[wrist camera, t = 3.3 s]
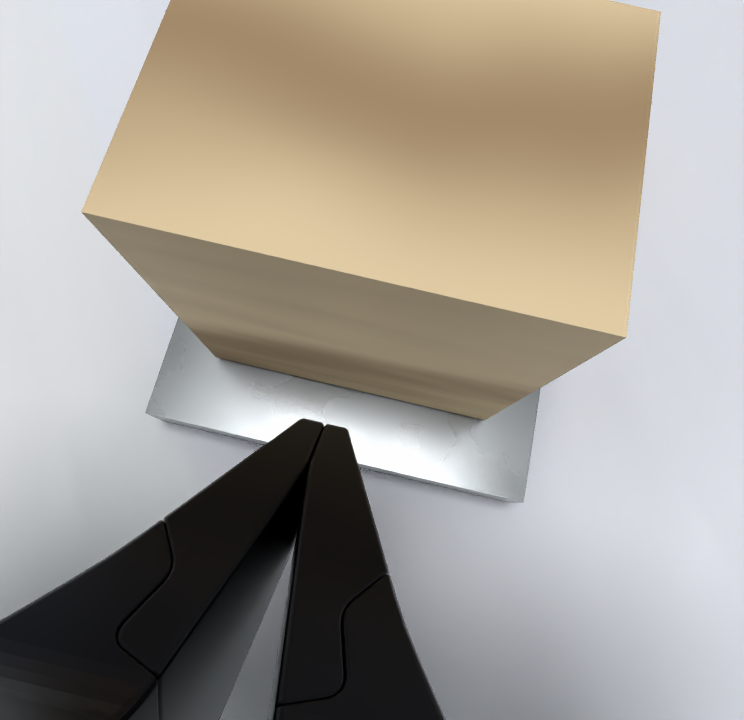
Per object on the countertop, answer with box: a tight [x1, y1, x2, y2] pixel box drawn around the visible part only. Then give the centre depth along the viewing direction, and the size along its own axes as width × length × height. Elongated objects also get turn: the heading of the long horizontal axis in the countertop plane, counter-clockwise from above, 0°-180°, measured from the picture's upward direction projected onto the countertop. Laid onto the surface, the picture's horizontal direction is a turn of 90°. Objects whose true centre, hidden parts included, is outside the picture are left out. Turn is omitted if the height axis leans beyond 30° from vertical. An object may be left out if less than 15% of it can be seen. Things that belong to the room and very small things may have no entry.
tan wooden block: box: [82, 0, 661, 420], centre depth 12 cm, size 6×8×8 cm
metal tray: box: [145, 317, 540, 502], centre depth 18 cm, size 22×15×4 cm
